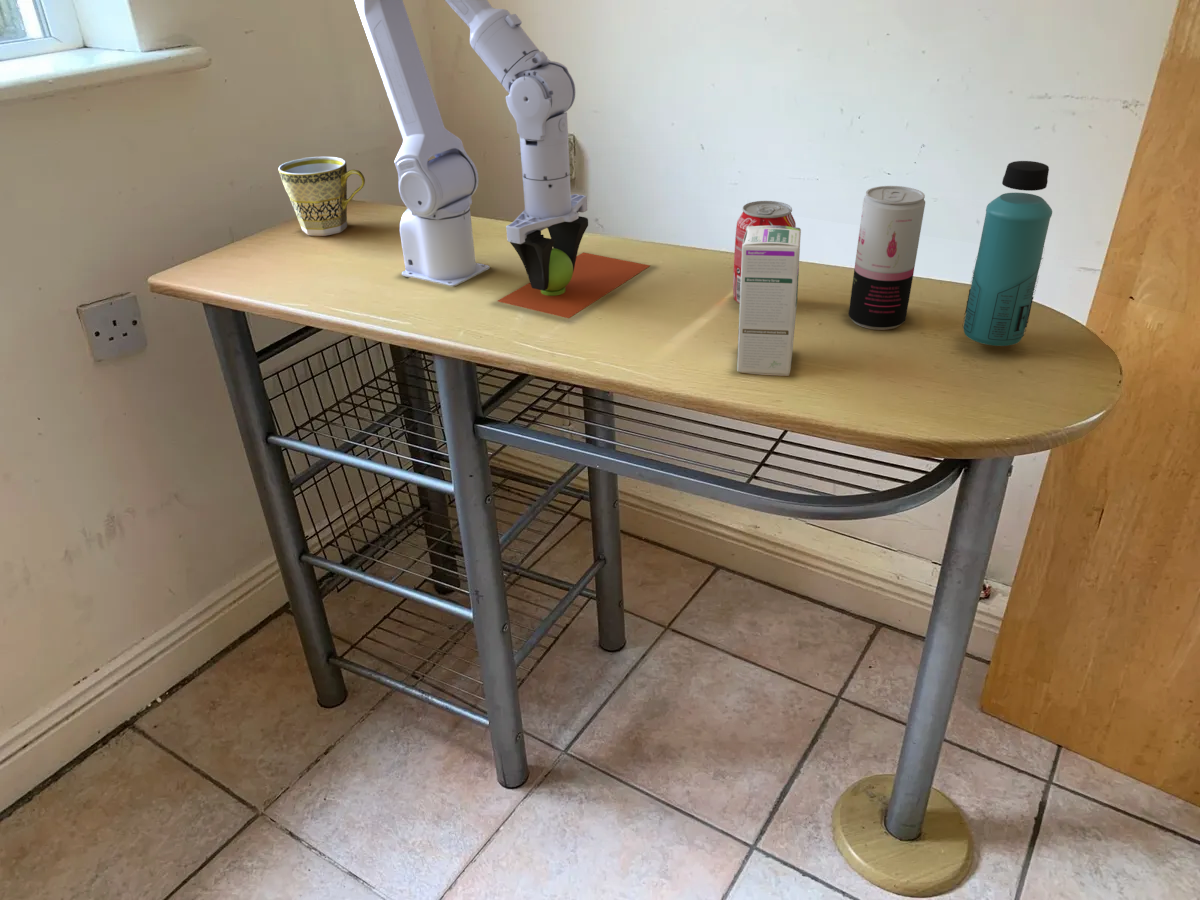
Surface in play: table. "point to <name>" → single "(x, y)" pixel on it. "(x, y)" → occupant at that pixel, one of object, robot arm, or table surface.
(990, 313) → the beverage bottle
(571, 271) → the apple
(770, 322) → the syrup box
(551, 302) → the cloth
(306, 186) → the ceramic cup
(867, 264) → the beverage can
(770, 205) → the soda can
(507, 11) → the robot arm
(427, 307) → the table surface
